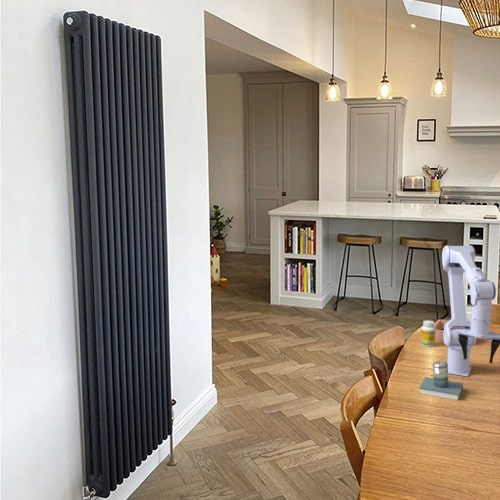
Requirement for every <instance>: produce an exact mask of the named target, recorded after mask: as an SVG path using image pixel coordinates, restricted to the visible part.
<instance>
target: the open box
mask: <svg viewBox="0 0 500 500" xmlns="http://www.w3.org/2000/svg"><path fill="white" fill-rule="evenodd" d="M448 321H449V320H446V319H439V318H438V319H437V320H436V321H435V322H434V326H433V327H435V341H440V342H441V341H442V342H444V339H443V334H444V330H442V329H444V325H445V324H446V323H447V322H448ZM451 328H458V327H451ZM439 329H440V330H439ZM476 341H478V338H476Z"/></svg>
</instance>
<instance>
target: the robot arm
mask: <svg viewBox="0 0 500 500" xmlns="http://www.w3.org/2000/svg"><path fill="white" fill-rule="evenodd" d="M475 259H476V250H475V248H474V246H473V245H445V246H444V247H443V248H442V253H441V261H442V268H443V271H445V272H447V277H448V288H449V301H450V302H449V303H450V315H451V317H450V319H449V320H448V322H447V323H446V324H445V325H444V330H443V331H444V334H443V339H444V341H443V343H444V344H445V345H446V347H447V357H446V358H447V359H446V360H447V361H446V362H447V363H448V375H456V376H462V377H469V375H470V373H471V370H472V366H470V356H471V355H470V353H471V349H473V347H474V346H475V345H476V343H477V340H476V338H477V339H481V340H487V341H488V340H489V341H491V343H490V356H489V364H493V360H494V356H495V354H496V352H497V350H498V348H499V347H500V333H496V332H493V331H492V332H491V321H492V320H491V319H492V318H491V317H492V303H493V300H495V299H496V296H497V286H496V284H495V281H493V280H490V279H488V278H487V276H486V275H485V273H484V271H483V269H481V267H477V265H476V262H475ZM464 272H465V273H464ZM463 274H464V275H463ZM464 278H465V280H466V283H467V284H468V286H469V287H470V288H469V294H470V295H469V296H470V303H471V315H470V316H471V317H470V320H469V319H468V318H467V311H466V300H465V287H464ZM451 327H458V328H451Z"/></svg>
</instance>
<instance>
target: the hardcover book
mask: <svg viewBox="0 0 500 500" xmlns="http://www.w3.org/2000/svg"><path fill="white" fill-rule="evenodd" d="M418 389H420V390H419V393H418V394H419V395H425V396H431V397H435V398H441V399H442V398H443V399H446V400H451V401H453V400H454V401H459V400H460V397H461V395H462V392H463V390H464V383H463V382H456V381H451V380H449V386H447V387H436V386H435V385H434V377H433V378H432V377H427V376H425V377H424V379H423V380H422V382H421V383H420V385H419V387H418Z"/></svg>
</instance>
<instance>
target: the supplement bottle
mask: <svg viewBox="0 0 500 500" xmlns="http://www.w3.org/2000/svg"><path fill="white" fill-rule="evenodd" d="M434 324H435V322H434V321H433V320H426V319H425V320H423V322H422V326H421V329H420V345H421V346H422V347H426V348H431V347H435V343H436V340H435V327H433V326H434Z"/></svg>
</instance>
